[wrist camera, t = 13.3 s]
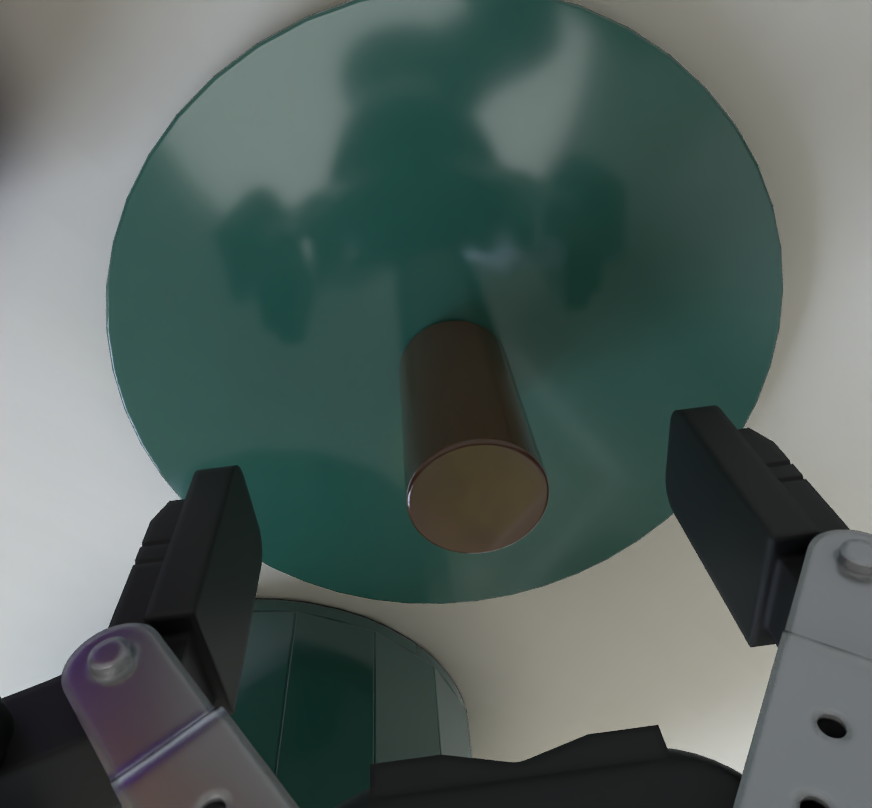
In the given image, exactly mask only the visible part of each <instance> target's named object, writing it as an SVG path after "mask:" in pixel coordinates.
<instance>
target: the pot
mask: <svg viewBox="0 0 872 808" xmlns="http://www.w3.org/2000/svg"><path fill="white" fill-rule="evenodd" d="M230 716H231V718H232V719H233V720H234V722H235V723H236V724H237V726H238V727H239V728H240V730H241V731H242V732H243V734H244V735H245V736H246V738H247V739H248V740H249V741H250V743H251V744H252V745H253V747H254V748H255V749H256V751H257V752H258V753H259V755H260V756H261V757H262V759H263V760H264V761H265V763H266V764H267V765H268V767H269V768H270V769H271V771H272V772H273V773H274V775H275V776H276V777H277V779H278V780H279V781H280V783H281V784H282V785H283V786H284V788H285V789H286V790H287V792H288V793H289V794H290V796H291V797H292V798H293V800H294V801H295V802H296V804H297V805H298V806H299V808H335V807H336V806H338V805H339V804H341V803H342V802H344V801H345V800H347V799H349V798H351V797H353V796H354V795H356V794H358V793H360V792H362V791H365V790H367V789H370V764H375V763H383V762H390V761H397V760H405V759H412V758H419V757H427V756H434V755H450V756H459V757H467V758H472V751H471V743H470V735H469V727H468V719H467V711H466V708H465V706H464V702H463V700H462V698H461V696H460V693H459V691H458V689H457V687H456V685H455V684H454V682H453V681H452V680H451V678H450V677H449V675H448V674H447V672H446V671H445V670H444V669H443V668H442V667H441V666H440V665H439V663H438V662H437V661H436V660H435V659H434V658H433V657H432V656H431V655H430V654H428V653H427V652H426V651H424V650H423V649H422V648H420V647H419V646H418V645H416V644H415V643H414V642H412V641H411V640H409V639H408V638H406V637H404V636H402V635H401V634H399V633H397V632H395V631H394V630H392V629H390V628H388V627H386V626H384V625H381V624H379V623H377V622H374V621H372V620H370V619H367V618H365V617H362V616H359V615H355V614H352V613H349V612H346V611H342V610H339V609H335V608H330V607H326V606H321V605H316V604H311V603H305V602H295V601H286V600H277V599H255V602H254V608H253V613H252V619H251V624H250V630H249V635H248V641H247V646H246V652H245V658H244V663H243V669H242V674H241V680H240V685H239V691H238V696H237V702H236V707H235V713H234V715H230ZM121 808H123V807H121Z"/></svg>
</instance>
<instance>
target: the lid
mask: <svg viewBox="0 0 872 808" xmlns="http://www.w3.org/2000/svg"><path fill="white" fill-rule="evenodd" d="M782 295H783V277H782V256H781V245H780V240H779V235H778V230H777V225H776V220H775V215H774V210H773V205H772V202H771V200H770V197H769V194H768V191H767V189H766V186H765V183H764V180H763V178H762V175H761V172H760V170H759V167H758V164H757V162H756V161H755V159H754V157H753V155H752V153H751V152H750V150H749V148H748V146H747V145H746V143H745V141H744V139H743V137H742V136H741V134H740V132H739V130H738V128H737V127H736V125H735V124H734V122H733V121H732V120H731V119H730V117H729V116H728V115H727V113H726V112H725V111H724V110H723V108H722V107H721V106H720V105H719V103H718V102H717V101H716V100H715V98H714V97H713V96H712V95H711V93H710V92H709V91H708V89H707V88H706V87H705V86H704V85H702V84H701V83H700V82H699V81H698V80H697V79H696V78H695V77H694V76H693V75H692V74H690V73H689V72H688V71H687V70H686V69H685V68H684V67H683V66H682V65H681V64H680V63H678V62H677V61H676V60H675V59H674V58H673V57H672V56H671V55H670V54H668V53H666V52H665V51H663V50H662V49H660V48H659V47H657V46H656V45H654V44H653V43H651V42H650V41H648V40H647V39H645V38H644V37H642V36H641V35H639V34H637V33H636V32H634V31H633V30H631V29H630V28H628V27H627V26H624V25H622V24H620V23H618V22H615V21H613V20H611V19H609V18H606V17H604V16H602V15H600V14H598V13H595V12H593V11H591V10H589V9H586V8H584V7H582V6H580V5H576V4H573V3H569V2H565V1H562V0H351V1H348V2H345V3H343V4H340V5H337V6H334V7H332V8H329V9H326V10H323V11H320V12H318V13H315V14H312V15H309V16H307V17H305V18H303V19H301V20H300V21H298V22H296V23H294V24H292V25H290V26H288V27H287V28H285V29H283V30H281V31H279V32H277V33H275V34H274V35H272V36H270V37H268V38H266V39H264V40H263V41H261V42H259V43H257V44H256V45H255V46H253V47H252V48H251V49H249V50H248V51H247V52H245V53H244V54H243V55H241V56H240V57H239V58H237V59H236V60H235V61H233V62H232V63H231V64H229V65H228V66H227V67H225V68H224V69H223V70H221V71H220V72H219V73H217V74H216V75H215V76H214V77H213V78H212V79H211V80H210V81H209V82H208V83H207V84H206V85H205V86H204V87H203V88H202V89H201V90H200V91H199V92H198V93H197V94H196V95H195V96H194V97H193V98H192V99H191V100H190V101H189V102H188V103H187V104H186V105H185V107H184V108H183V109H182V110H181V111H180V112H179V113H178V114H177V115H176V116H175V118H174V119H173V121H172V122H171V124H170V125H169V126H168V128H167V129H166V131H165V132H164V133H163V135H162V136H161V138H160V139H159V141H158V142H157V143H156V145H155V146H154V148H153V149H152V150H151V152H150V153H149V155H148V157H147V159H146V161H145V163H144V165H143V167H142V169H141V171H140V173H139V175H138V177H137V179H136V181H135V183H134V185H133V187H132V189H131V191H130V193H129V195H128V197H127V199H126V202H125V206H124V209H123V212H122V215H121V218H120V221H119V225H118V228H117V231H116V234H115V237H114V240H113V245H112V252H111V258H110V265H109V271H108V278H107V285H106V330H107V336H108V343H109V349H110V356H111V362H112V369H113V373H114V376H115V379H116V383H117V386H118V389H119V392H120V396H121V399H122V402H123V405H124V409H125V411H126V413H127V415H128V417H129V419H130V421H131V424H132V426H133V428H134V430H135V432H136V434H137V436H138V439H139V441H140V443H141V445H142V446H143V448H144V449H145V451H146V452H147V454H148V455H149V457H150V459H151V460H152V462H153V463H154V465H155V466H156V468H157V469H158V471H159V472H160V474H161V476H162V477H163V478H164V479H165V480H166V482H167V483H168V484H169V485H170V486H171V487H172V489H173V490H174V491H175V492H176V493H177V494H178V496H179V497H180V498H181V499H185V498H186V495H187V492H188V489H189V486H190V484H191V481H192V478H193V475H194V473H195V472H196V471H197V470H202V469H210V468H218V467H226V466H233V465H238V466H239V467H240V468H241V470H242V472H243V475H244V478H245V482H246V485H247V488H248V492H249V495H250V498H251V502H252V505H253V508H254V512H255V515H256V518H257V522H258V525H259V529H260V533H261V540H262V562H264V563H265V564H267V565H269V566H271V567H272V568H275V569H277V570H279V571H282V572H284V573H286V574H289V575H291V576H293V577H295V578H298V579H300V580H302V581H305V582H308V583H311V584H314V585H317V586H320V587H324V588H327V589H330V590H333V591H336V592H340V593H345V594H349V595H354V596H359V597H364V598H368V599H374V600H383V601H392V602H401V603H430V604H444V603H457V602H470V601H479V600H485V599H491V598H497V597H502V596H508V595H513V594H516V593H520V592H524V591H528V590H531V589H535V588H539V587H542V586H546V585H548V584H551V583H554V582H556V581H559V580H562V579H564V578H567V577H570V576H572V575H575V574H578V573H580V572H582V571H584V570H586V569H588V568H590V567H592V566H594V565H596V564H598V563H600V562H602V561H605V560H607V559H609V558H610V557H612V556H614V555H615V554H617V553H619V552H620V551H622V550H623V549H625V548H627V547H628V546H630V545H632V544H633V543H635V542H637V541H638V540H640V539H641V538H642V537H644V536H645V535H646V534H648V533H649V532H650V531H652V530H653V529H654V528H656V527H657V526H658V525H660V524H661V523H662V522H664V521H665V520H666V519H668V518H669V517H670V516H671V515H672V514H673V513H674V512H673V511H672V509H671V506H670V503H669V500H668V497H667V492H666V483H665V475H666V464H667V452H668V441H669V429H670V420H671V415H672V413H673V412H674V411H675V410H681V409H688V408H696V407H704V406H712V405H716V406H718V407H719V408H720V409H721V410H722V411H723V412H724V413H725V415H726V416H727V417H728V418H729V420H730V421H731V422H732V423H733V425H734V426H735V427H736V428H737V429H743V427H744V426H745V424H746V422H747V420H748V418H749V416H750V414H751V412H752V410H753V408H754V407H755V405H756V403H757V400H758V398H759V395H760V392H761V390H762V387H763V384H764V382H765V379H766V377H767V374H768V371H769V369H770V366H771V361H772V357H773V353H774V349H775V345H776V340H777V336H778V332H779V326H780V316H781V305H782Z"/></svg>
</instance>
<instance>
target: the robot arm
mask: <svg viewBox="0 0 872 808" xmlns="http://www.w3.org/2000/svg"><path fill="white" fill-rule="evenodd" d="M665 483H666V492H667V497H668V500H669V503H670V506H671V509H672V511H673V512H674V514H675V516H676V518H677V519H678V521H679V523H680V525H681V526H682V528H683V530H684V532H685V533H686V535H687V537H688V539H689V541H690V542H691V544H692V546H693V548H694V549H695V551H696V553H697V555H698V556H699V558H700V560H701V562H702V563H703V565H704V567H705V569H706V570H707V572H708V574H709V576H710V577H711V579H712V581H713V583H714V584H715V586H716V588H717V590H718V591H719V593H720V595H721V597H722V598H723V600H724V602H725V604H726V605H727V607H728V609H729V611H730V612H731V614H732V616H733V618H734V619H735V621H736V623H737V625H738V626H739V628H740V630H741V632H742V633H743V635H744V637H745V639H746V641H747V642H748V644H749V646H750V647H756V646H764V645H771V644H776V645H777V647H778V650H777V653H776V657H775V660H774V664H773V668H772V671H771V675H770V678H769V682H768V685H767V689H766V692H765V696H764V699H763V703H762V707H761V710H760V714H759V717H758V721H757V724H756V728H755V731H754V735H753V739H752V742H751V746H750V749H749V753H748V756H747V760H746V763H745V767H744V770H743V774H740V773H739V772H737V771H735V770H734V769H732V768H730V767H728V766H726V765H723V764H721V763H719V762H717V761H715V760H712V759H709V758H706V757H704V756H701V755H698V754H695V753H690V752H686V751H682V750H677V749H669V748H667V747H666V744H665V741H664V739H663V736H662V734H661V731H660V729H659V726H658V725H654V726H647V727H639V728H632V729H625V730H617V731H610V732H603V733H595V734H588V735H585V736H583V737H581V738H578V739H576V740H573V741H571V742H568V743H566V744H564V745H561V746H559V747H556V748H554V749H551V750H549V751H547V752H544V753H542V754H539V755H537V756H535V757H532V758H530V759H527V760H525V761H521V762H503V761H494V760H485V759H476V758H467V757H459V756H450V755H434V756H427V757H419V758H412V759H405V760H397V761H390V762H383V763H375V764H370V789H367V790H365V791H362V792H360V793H358V794H356V795H354V796H353V797H351V798H349V799H347V800H345V801H344V802H342V803H341V804H339V805H338V806H336V807H335V808H872V534H869V533H865V532H860V531H855V530H850V529H849V528H848V527H847V526H846V524H845V523H844V522H843V521H842V520H841V519H840V518H839V516H838V515H837V514H836V513H835V512H834V511H833V509H832V508H831V507H830V506H829V505H828V504H827V503H826V501H825V500H824V499H823V498H822V497H821V496H820V495H819V493H818V492H817V491H816V490H815V489H814V488H813V487H812V485H811V484H810V483H809V482H808V481H807V480H806V479H803V475H802V474H801V473H800V472H799V470H798V469H797V468H796V467H795V466H794V465H793V464H790V460H789V459H788V458H787V457H786V456H785V454H784V453H783V452H782V451H781V450H780V449H779V448H778V446H777V445H776V444H775V443H774V442H773V441H771V440H769V439H767V438H766V437H764V436H762V435H760V434H759V433H757V432H755V431H754V430H752V429H750V428H744V429H737V428H736V427H735V426H734V425H733V423H732V422H731V421H730V420H729V418H728V417H727V416H726V415H725V413H724V412H723V411H722V410H721V409H720V408H719V407H718V406H716V405H712V406H704V407H696V408H688V409H681V410H675V411H674V412H673V413H672V415H671V420H670V429H669V441H668V452H667V464H666V475H665ZM261 564H262V540H261V533H260V529H259V525H258V522H257V518H256V515H255V512H254V508H253V505H252V502H251V498H250V495H249V492H248V488H247V485H246V482H245V478H244V475H243V472H242V470H241V468H240V467H239V466H238V465H233V466H226V467H218V468H210V469H202V470H197V471H196V472H195V473H194V475H193V478H192V481H191V484H190V486H189V489H188V492H187V495H186V498H185V499H182V500H174V501H169V502H168V503H167V504H166V506H165V507H164V508H163V509H162V510H161V511H160V512H159V513H158V514H157V515H156V516H155V517H154V518H153V519H152V520H151V522H150V524H149V527H148V529H147V532H146V534H145V537H144V539H143V542H142V547H140V549H139V552H138V554H137V557H136V559H135V565H133V567H132V569H131V572H130V574H129V577H128V579H127V582H126V584H125V587H124V589H123V592H122V594H121V597H120V599H119V602H118V604H117V607H116V609H115V612H114V614H113V617H112V619H111V622H110V625H109V627H108V629H105V630H103V631H101V632H99V633H97V634H95V635H94V636H92V637H91V638H89V639H88V640H87V641H85V642H84V643H83V644H82V645H81V646H80V647H79V648H78V649H77V650H76V651H75V652H74V653H73V654H72V655H71V657H70V658H69V659H68V661H67V663H66V665H65V667H64V669H63V672H62V675H60V676H58V677H56V678H53V679H51V680H49V681H46V682H43V683H41V684H38V685H36V686H33V687H30V688H28V689H25V690H23V691H20V692H18V693H15V694H12V695H10V696H7V697H5V698H2V699H1V697H0V808H121V807H123V808H299V806H298V805H297V804H296V802H295V801H294V800H293V798H292V797H291V796H290V794H289V793H288V792H287V790H286V789H285V788H284V786H283V785H282V784H281V783H280V781H279V780H278V779H277V777H276V776H275V775H274V773H273V772H272V771H271V769H270V768H269V767H268V765H267V764H266V763H265V761H264V760H263V759H262V757H261V756H260V755H259V753H258V752H257V751H256V749H255V748H254V747H253V745H252V744H251V743H250V741H249V740H248V739H247V738H246V736H245V735H244V734H243V732H242V731H241V730H240V728H239V727H238V726H237V724H236V723H235V722H234V720H233V719H232V718H231V716H230V715H234V713H235V707H236V702H237V696H238V691H239V685H240V680H241V674H242V669H243V663H244V658H245V652H246V646H247V641H248V635H249V630H250V624H251V619H252V613H253V608H254V602H255V597H256V591H257V586H258V580H259V575H260V569H261Z"/></svg>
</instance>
